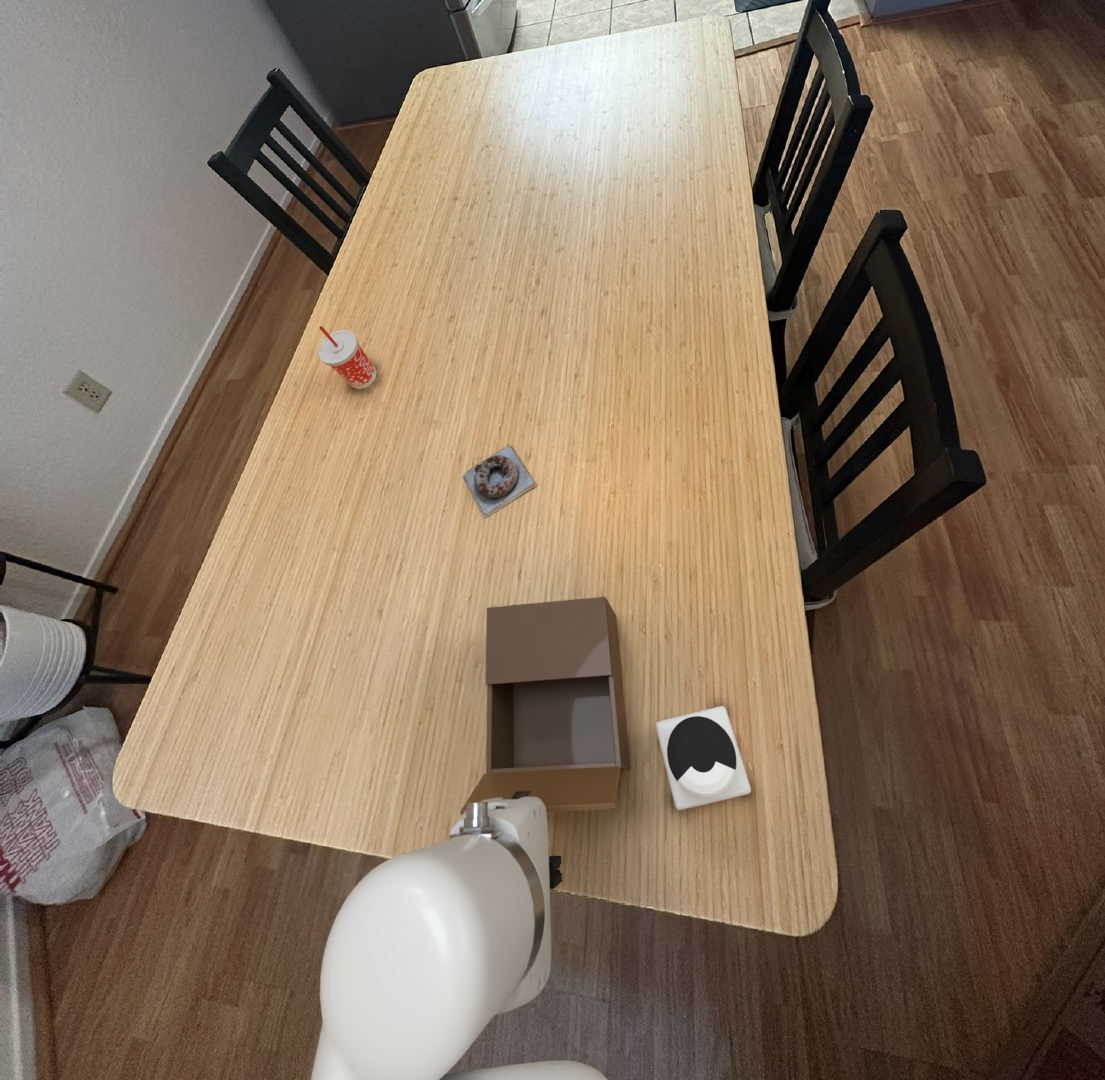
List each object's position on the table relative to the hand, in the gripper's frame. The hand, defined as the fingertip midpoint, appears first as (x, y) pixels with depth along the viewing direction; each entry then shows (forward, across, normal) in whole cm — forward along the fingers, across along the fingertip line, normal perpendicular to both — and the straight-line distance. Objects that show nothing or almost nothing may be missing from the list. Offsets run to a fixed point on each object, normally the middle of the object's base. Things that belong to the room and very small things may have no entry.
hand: (543, 868), depth 50 cm
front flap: (+1, -5, 0) cm, 5 cm away
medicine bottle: (+15, -7, +14) cm, 22 cm away
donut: (+15, -40, -8) cm, 43 cm away
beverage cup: (+16, -61, -31) cm, 70 cm away
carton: (+15, -14, 0) cm, 20 cm away
